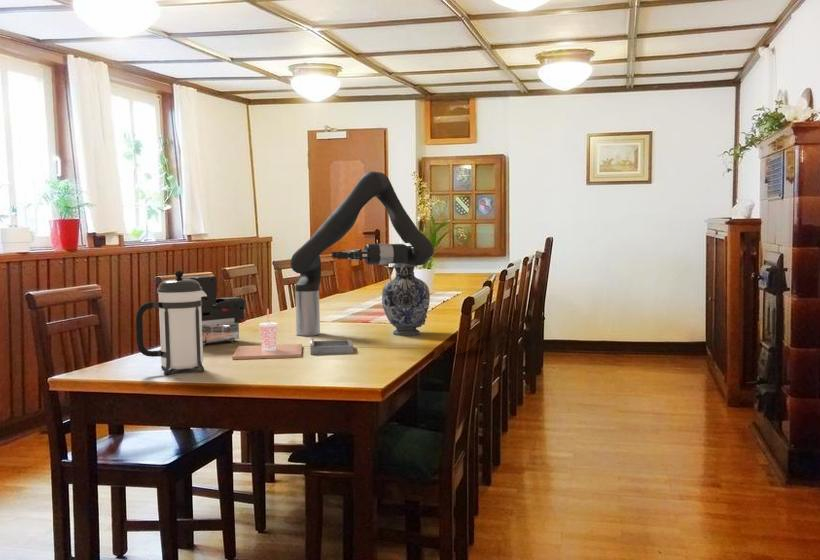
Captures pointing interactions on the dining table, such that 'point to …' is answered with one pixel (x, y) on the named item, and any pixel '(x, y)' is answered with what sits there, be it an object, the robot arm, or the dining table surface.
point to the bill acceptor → (219, 312)
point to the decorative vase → (405, 300)
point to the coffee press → (176, 324)
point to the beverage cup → (268, 335)
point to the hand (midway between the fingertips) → (334, 255)
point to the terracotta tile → (268, 352)
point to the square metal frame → (330, 347)
